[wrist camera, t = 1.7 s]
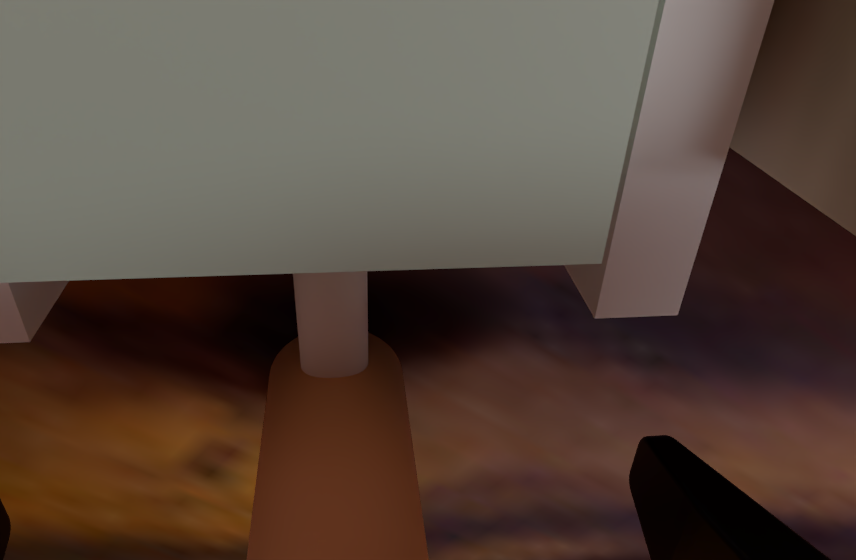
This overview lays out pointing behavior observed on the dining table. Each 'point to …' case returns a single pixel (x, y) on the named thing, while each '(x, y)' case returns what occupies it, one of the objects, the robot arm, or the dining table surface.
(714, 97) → the lane rack
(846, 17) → the ash block
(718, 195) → the dining table surface
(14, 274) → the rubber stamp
